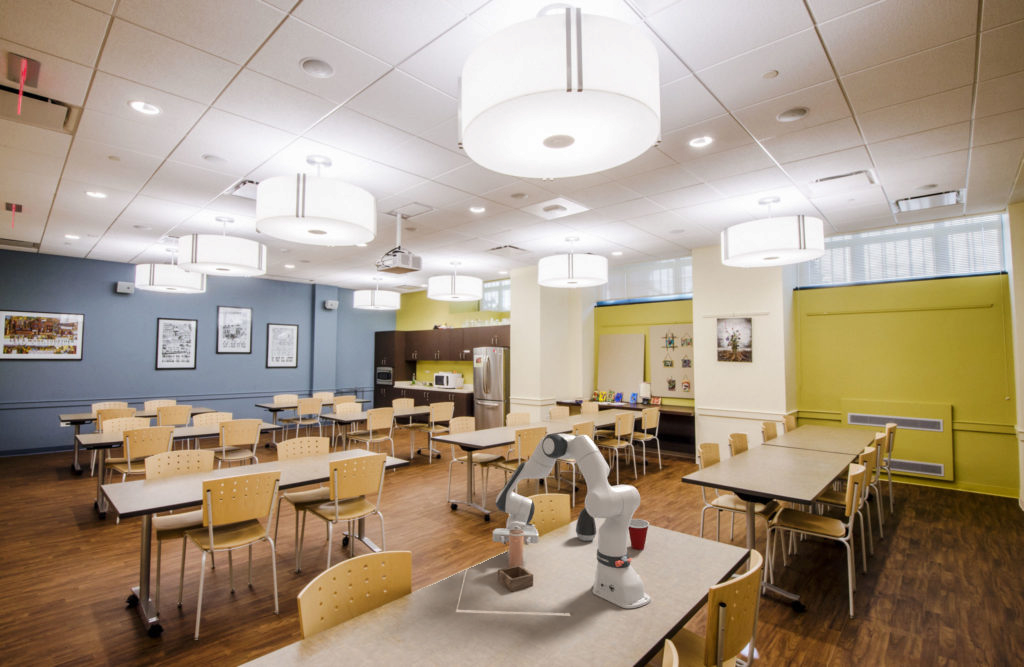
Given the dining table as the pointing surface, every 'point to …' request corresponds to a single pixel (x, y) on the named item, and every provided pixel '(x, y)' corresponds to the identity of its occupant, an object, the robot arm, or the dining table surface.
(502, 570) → the holder
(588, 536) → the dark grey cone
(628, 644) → the dining table surface
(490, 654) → the dining table surface
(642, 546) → the plastic cup
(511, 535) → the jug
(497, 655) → the dining table surface
